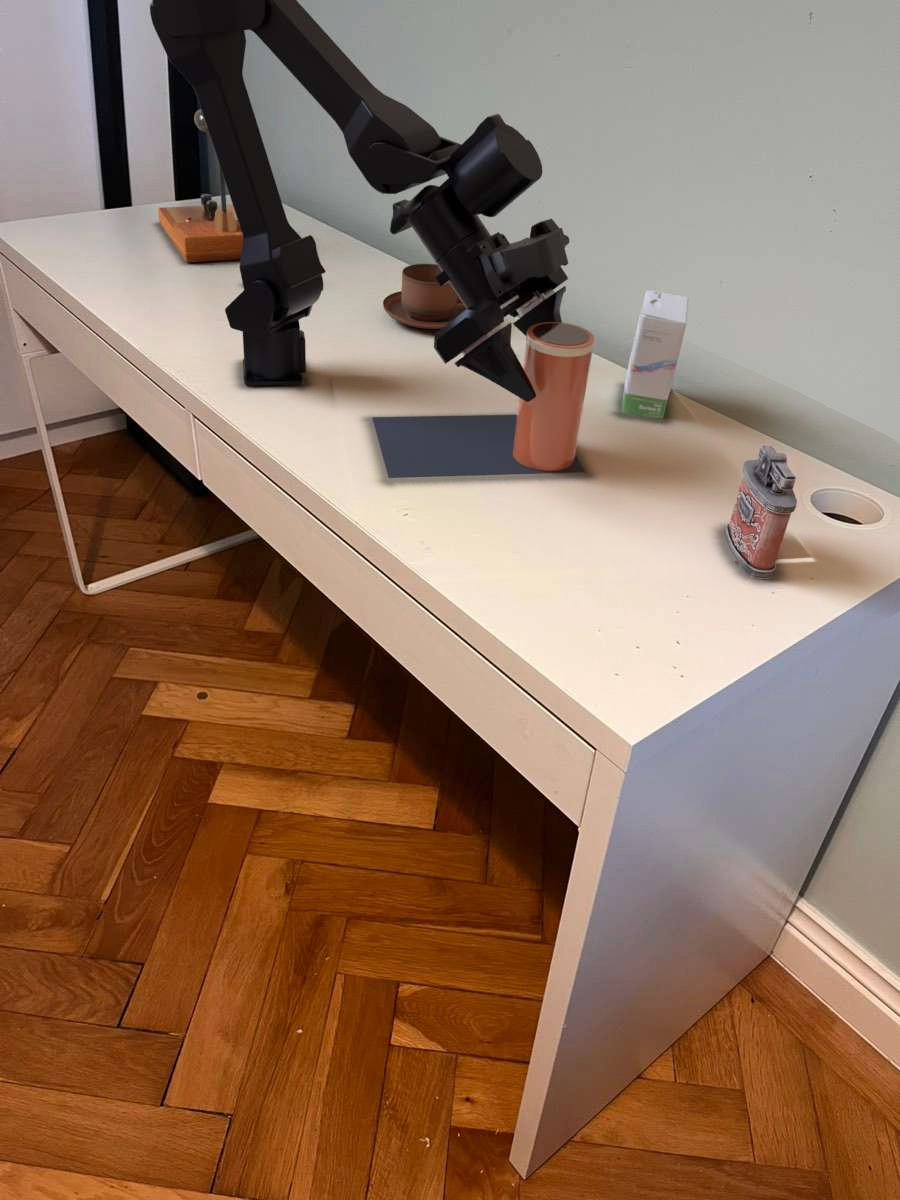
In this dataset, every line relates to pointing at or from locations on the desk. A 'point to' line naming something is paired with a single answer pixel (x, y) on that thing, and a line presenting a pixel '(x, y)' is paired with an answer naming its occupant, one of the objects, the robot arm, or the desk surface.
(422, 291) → the cup and saucer
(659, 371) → the ink box
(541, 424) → the pen pot
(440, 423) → the felt mat
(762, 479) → the lighter
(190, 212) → the wooden scientific apparatus
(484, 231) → the robot arm
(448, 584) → the desk surface
